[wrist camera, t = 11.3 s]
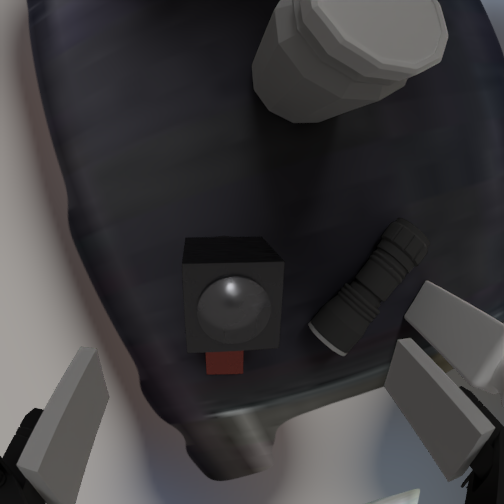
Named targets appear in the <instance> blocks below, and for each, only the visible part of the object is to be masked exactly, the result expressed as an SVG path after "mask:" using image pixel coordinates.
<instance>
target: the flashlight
mask: <svg viewBox="0 0 504 504" xmlns="http://www.w3.org/2000/svg"><path fill="white" fill-rule="evenodd" d="M381 238H382V240H381V242H380V243H379V244H378V245H377V250H376V251H373V255H370V257H369V260H368V261H367V263H366V264H365V265H364V266H363V268H362V269H361V270H360V271H359V273H358V274H357V275H356V276H355V278H356V281H355V282H354V281H353V282H352V283H351V284H350V285H349V284H347V283H346V284H344V287H342V288H341V291H339V292H338V295H337V296H335V297H334V298H332V299H331V300H330V301H328V302H327V303H326V304H325V305H324V306H323V307H322V308H321V310H320V311H319V312H318V313H317V314H316V315H315V317H314V318H313V319H312V320H311V321H310V322H309V323H308V326H309V327H310V329H311V330H312V332H313V333H314V334H315V335H316V336H317V337H318V338H319V339H320V340H321V341H322V342H323V343H324V344H325V345H326V346H328V347H329V348H330V349H331V350H333V351H334V352H336V353H337V354H339V355H341V356H345V355H346V354H347V353H348V352H349V351H350V350H351V349H352V347H353V346H354V345H355V344H356V343H357V342H358V341H359V340H360V339H361V337H362V336H363V335H364V333H365V331H366V329H367V327H368V325H369V323H370V322H373V319H374V318H376V315H378V314H379V312H380V311H379V310H378V309H377V308H378V307H379V306H380V305H381V304H380V302H381V301H383V302H385V300H386V299H387V298H388V297H389V295H390V294H391V293H392V292H393V290H394V289H395V288H396V287H397V285H398V284H400V283H401V282H402V279H404V278H405V275H406V274H407V273H410V271H411V270H412V269H413V267H414V266H418V265H419V264H420V262H421V261H422V260H423V258H424V257H425V255H426V254H427V253H428V250H427V248H428V246H429V245H430V242H429V240H428V239H427V237H426V236H425V235H424V234H423V233H422V232H421V231H420V230H419V229H418V228H417V227H415V226H414V225H413V224H411V223H410V222H408V221H406V220H404V219H402V218H398V219H397V220H396V221H395V222H392V223H391V224H390V225H389V227H388V228H387V229H386V231H385V232H384V233H383V235H382V236H381Z"/></svg>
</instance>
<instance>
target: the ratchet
mask: <svg viewBox="0 0 504 504" xmlns="http://www.w3.org/2000/svg"><path fill="white" fill-rule="evenodd" d="M218 237H229V236H218ZM206 370H207V374H243V351H228V352H206Z"/></svg>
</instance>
